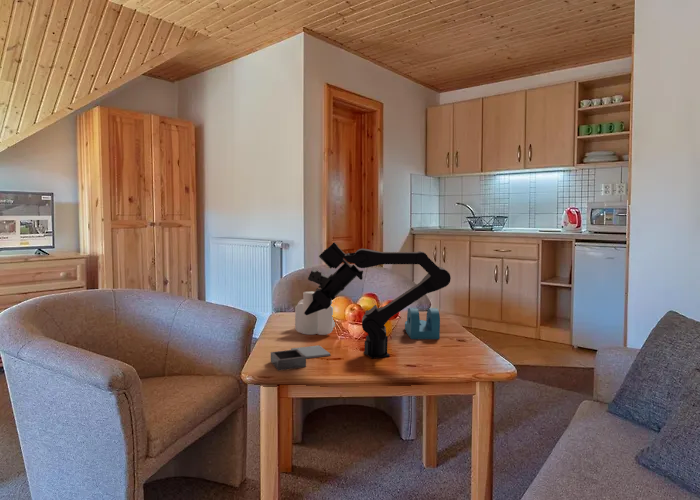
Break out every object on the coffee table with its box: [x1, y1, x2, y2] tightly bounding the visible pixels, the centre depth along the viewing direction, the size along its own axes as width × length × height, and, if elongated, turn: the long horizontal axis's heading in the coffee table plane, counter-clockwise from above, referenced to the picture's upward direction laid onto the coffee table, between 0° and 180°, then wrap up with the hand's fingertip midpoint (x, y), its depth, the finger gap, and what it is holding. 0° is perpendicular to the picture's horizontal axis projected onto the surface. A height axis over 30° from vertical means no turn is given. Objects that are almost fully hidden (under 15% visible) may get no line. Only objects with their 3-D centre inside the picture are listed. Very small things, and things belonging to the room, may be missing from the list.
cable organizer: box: [294, 298, 336, 336], centre depth 178 cm, size 15×11×12 cm
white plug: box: [302, 291, 318, 335], centre depth 150 cm, size 5×5×13 cm
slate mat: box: [290, 344, 331, 360], centre depth 151 cm, size 10×10×1 cm
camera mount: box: [404, 307, 441, 340], centre depth 178 cm, size 18×10×10 cm, turn 3°
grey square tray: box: [270, 349, 307, 372], centre depth 140 cm, size 8×8×3 cm
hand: (306, 312), depth 150 cm, fingers closed on white plug, 5 cm apart
